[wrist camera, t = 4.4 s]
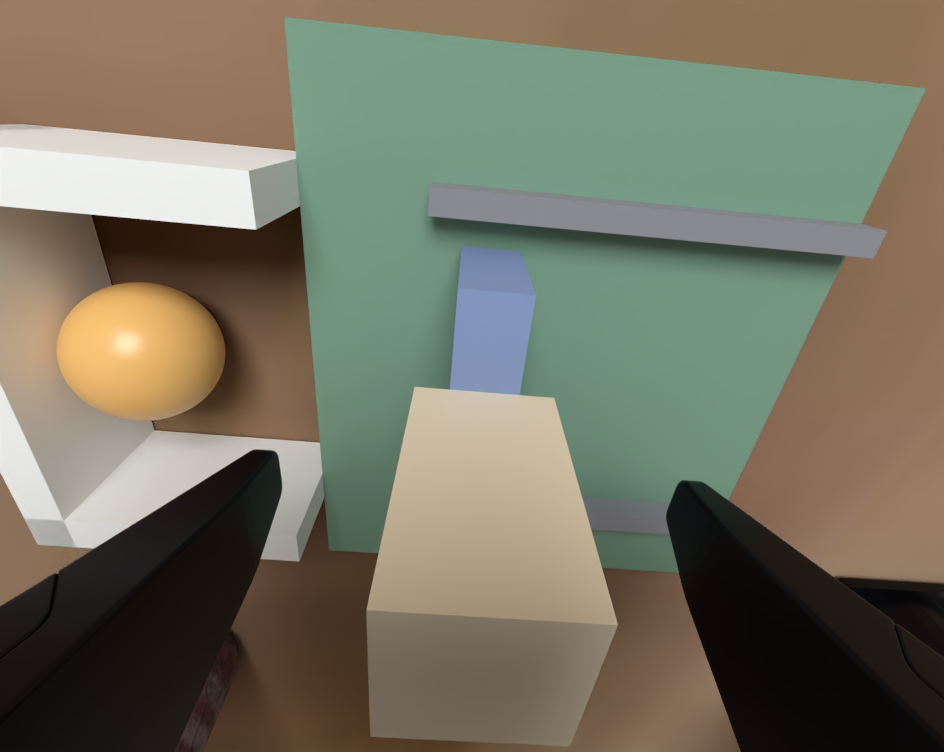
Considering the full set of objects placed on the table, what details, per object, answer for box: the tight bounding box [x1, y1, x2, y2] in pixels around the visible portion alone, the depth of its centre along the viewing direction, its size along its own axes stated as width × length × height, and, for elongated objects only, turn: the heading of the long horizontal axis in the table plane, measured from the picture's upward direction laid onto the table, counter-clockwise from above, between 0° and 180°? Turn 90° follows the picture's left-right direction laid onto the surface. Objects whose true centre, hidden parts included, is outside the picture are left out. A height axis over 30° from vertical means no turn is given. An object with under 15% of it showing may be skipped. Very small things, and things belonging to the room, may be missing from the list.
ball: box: [56, 282, 225, 421], centre depth 12 cm, size 4×4×4 cm
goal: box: [0, 124, 324, 561], centre depth 12 cm, size 7×10×4 cm
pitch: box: [284, 17, 926, 573], centre depth 13 cm, size 13×15×2 cm
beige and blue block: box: [366, 246, 618, 747], centre depth 9 cm, size 3×7×8 cm, turn 175°
